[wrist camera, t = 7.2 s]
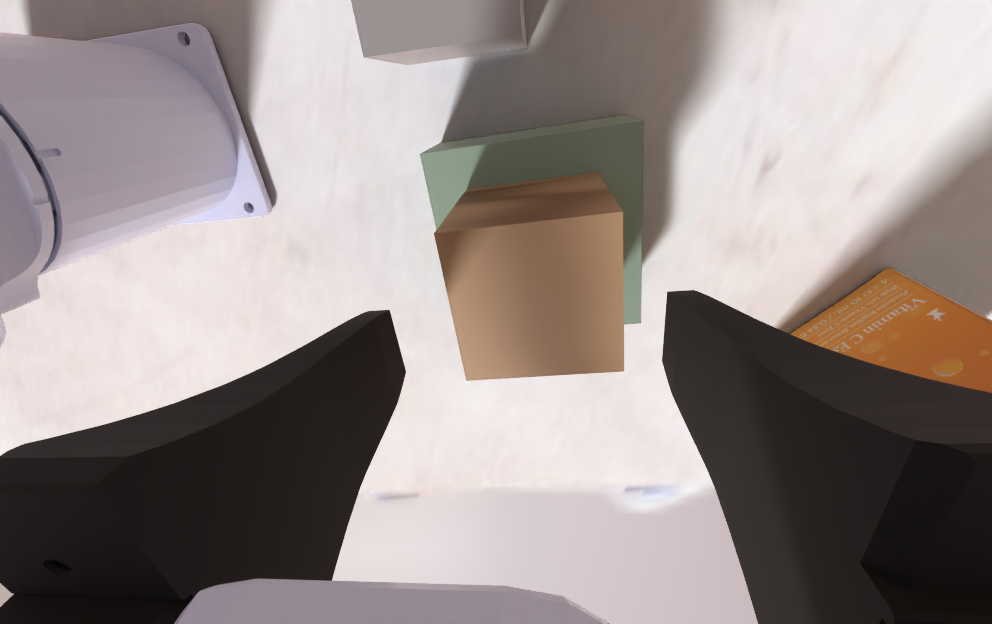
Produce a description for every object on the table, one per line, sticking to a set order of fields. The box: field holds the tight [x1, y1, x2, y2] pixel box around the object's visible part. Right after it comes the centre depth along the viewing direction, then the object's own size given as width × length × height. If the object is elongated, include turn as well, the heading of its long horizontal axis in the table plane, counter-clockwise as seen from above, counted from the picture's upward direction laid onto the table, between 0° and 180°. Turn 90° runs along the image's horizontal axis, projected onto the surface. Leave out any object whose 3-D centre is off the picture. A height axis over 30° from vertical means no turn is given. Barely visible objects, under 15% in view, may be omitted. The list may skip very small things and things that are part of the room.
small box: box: [790, 268, 992, 393], centre depth 16 cm, size 8×6×13 cm
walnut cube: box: [434, 175, 624, 381], centre depth 14 cm, size 5×5×5 cm
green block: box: [420, 115, 643, 324], centre depth 19 cm, size 8×8×4 cm
